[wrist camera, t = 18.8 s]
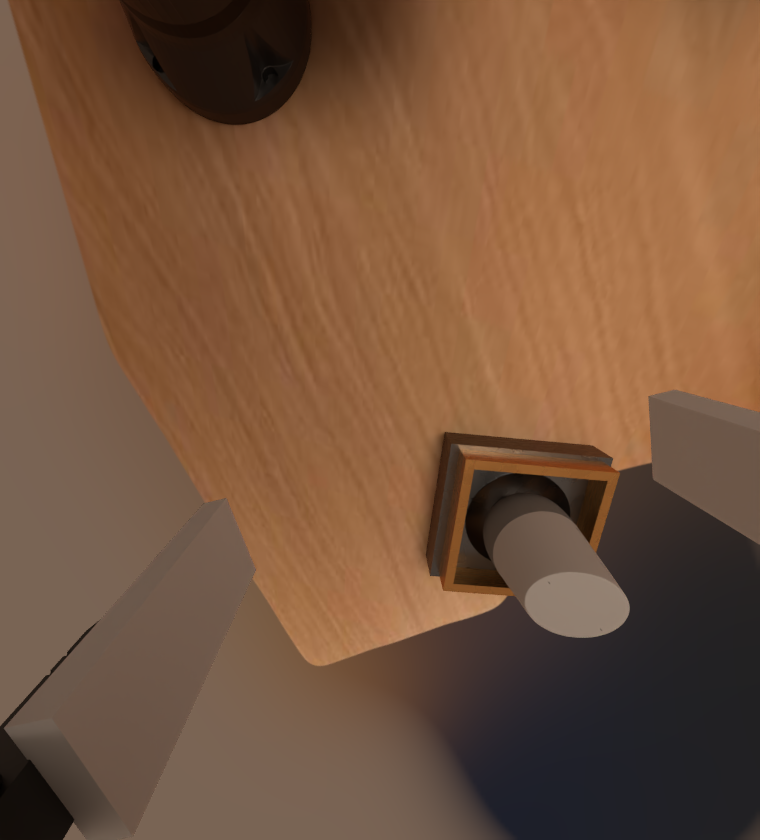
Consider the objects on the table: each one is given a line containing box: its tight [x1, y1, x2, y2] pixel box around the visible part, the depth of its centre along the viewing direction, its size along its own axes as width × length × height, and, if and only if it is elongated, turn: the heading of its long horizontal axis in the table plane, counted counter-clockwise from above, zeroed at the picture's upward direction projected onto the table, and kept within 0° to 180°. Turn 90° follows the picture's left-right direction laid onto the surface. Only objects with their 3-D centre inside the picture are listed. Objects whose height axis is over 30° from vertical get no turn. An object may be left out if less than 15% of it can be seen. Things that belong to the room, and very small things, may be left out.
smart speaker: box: [483, 493, 629, 638], centre depth 36 cm, size 10×9×14 cm
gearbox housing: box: [426, 432, 620, 596], centre depth 44 cm, size 18×17×7 cm
